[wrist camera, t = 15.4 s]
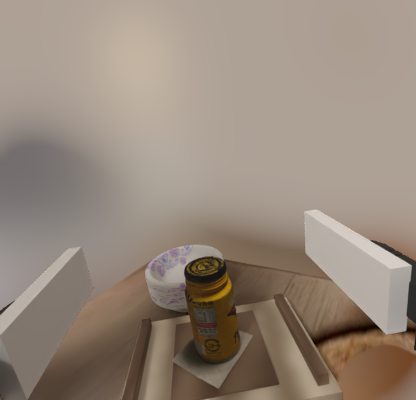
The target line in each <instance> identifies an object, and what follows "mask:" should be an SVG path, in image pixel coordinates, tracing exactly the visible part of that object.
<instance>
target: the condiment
mask: <svg viewBox="0 0 416 400" xmlns="http://www.w3.org/2000/svg"><path fill="white" fill-rule="evenodd" d="M184 276H185V283H186V287H185V297H186V302H187V307H188V312H189V317H190V322H191V327H192V332H193V336H194V337H193V338H192V339H191V340H190V341H189V342H188V344H187V345H186V346H185V347H184V348H183V349H182V350H181V351H180V352H179V353H178V354H177V355H176V356H175V358H174V359H173V360H172V361H173V362H174V363H176V364H177V365H178V366H180V367H182V368H183V369H185V370H187V371H188V372H190V373H192V374H193V375H195V376H197V377H198V378H200V379H202V380H204V381H206V382H207V383H209V384H211V385H213V386H215V387H216V388H218V389H219V388H220V386H221V385H222V383H223V381H224V380H225V379H226V377H227V375H228V373H229V372H230V371H231V369H232V367H233V366H234V365H235V363H236V362H237V360H238V359H239V357H240V356H241V354H242V353H243V351H244V350H245V348H246V347H247V345H248V343H249V342H250V340H251V339H252V337H253V335H251V334H248V333H246V332H243V331H240V330H239V327H238V320H237V315H236V307H235V301H234V295H233V287H232V283H231V280H230V279H229V278H228V274H227V270H226V264H225V262H224V261H223V260H222V259H221V258H218V257H213V256H205V257H201V258H197V259H195V260H193V261H191V262H189V263H188V264H187V265H186V266H185V269H184ZM216 365H217V366H216Z"/></svg>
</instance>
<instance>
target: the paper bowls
mask: <svg viewBox="0 0 416 400" xmlns="http://www.w3.org/2000/svg"><path fill="white" fill-rule="evenodd" d="M205 256H213V257H218V258H221V259H222V260H223V261H224V258H223V255H222V254H221V252H220V251H219V250H217V249H216V248H213V247H211V246H206V245H187V246H182V247H178V248H174V249H171V250H169V251H166V252H164V253H162V254H160V255H159V256H157V257H156V258H155V259H153V260H152V261H151V262H150V263H149V265H148V266H147V268H146V271H145V277H146V281H147V285H148V288H149V293H150V296H151V299H152V300H153V302H154V303H155V304H157V305H158V306H160V307H162V308H165V309H171V310H174V311H177V312H188V307H187V302H186V297H185V287H186V283H185V276H184V269H185V266H186V265H187V264H188V263H189V262H191V261H193V260H195V259H197V258H201V257H205Z"/></svg>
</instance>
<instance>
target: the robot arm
mask: <svg viewBox="0 0 416 400" xmlns="http://www.w3.org/2000/svg"><path fill="white" fill-rule="evenodd" d="M304 218H305V246H306V254H307V255H308V256H309V257H310V258H311V259H312V260H313V261H314V262H315V263H316V264H317V265H318V266H319V267H320V268H321V269H322V270H323V271H324V272H325V273H326V274H327V275H328V276H329V277H330V278H331V279H332V280H333V281H334V282H335V283H336V284H337V285H338V286H339V287H340V288H341V289H342V290H343V291H344V292H345V293H346V294H347V295H348V296H349V297H350V298H351V299H352V300H353V301H354V302H355V303H356V304H357V305H358V306H359V307H360V308H361V309H362V310H363V311H364V312H365V313H366V314H367V315H368V316H369V317H370V318H371V319H372V320H373V321H374V322H375V323H376V324H377V325H378V326H379V327H380V328H381V329H382V330H383V331H384V332H385V333H386V334H392V333H397V332H403V331H406V326H407V317H408V318H409V319H411V320H412V321H413V322H414V323H415V324H416V261H414V260H412V259H410V258H409V257H407V256H405V255H402V253H400V252H398V251H395V250H394V249H393V248H391V247H389V246H387V245H386V244H383V243H379V242H377V241H373V240H372V241H369V240H367V239H366V238H364V237H363V236H361V235H359V234H357V233H356V232H354V231H352V230H350V229H349V228H347V227H346V226H344V225H342V224H340V223H339V222H337V221H335V220H334V219H332V218H330V217H329V216H327V215H325V214H323V213H322V212H320V211H318V210H311V211H305V212H304ZM93 289H94V287H93V284H92V280H91V277H90V273H89V270H88V267H87V263H86V260H85V257H84V253H83V250H82V247H76V248H70V249H67V250H66V251H65V252H64V253H63V254H62V255H61V256H60V257H59V258H58V259H57V260H56V261H55V262H54V263H53V264H52V265H51V266H50V267H49V268H48V269H47V270H46V271H45V272H44V273H43V274H42V275H41V276H40V277H39V278H38V279H37V280H36V281H35V282H34V283H33V284H32V285H31V286H30V287H29V288H28V289H27V290H26V291H25V292H24V293H23V294H21V295H20V297H18V298H17V299H16V300H15V301H13V302H12V303H10V304H9V305H7V306H6V307H4V308H3V309H2V310H1V311H0V395H1V397H2V399H3V400H28V398H29V396H30V395H31V393H32V391H33V390H34V388H35V386H36V385H37V383H38V381H39V380H40V378H41V376H42V375H43V373H44V371H45V369H46V368H47V366H48V364H49V363H50V361H51V359H52V358H53V356H54V354H55V353H56V351H57V349H58V348H59V346H60V344H61V343H62V341H63V339H64V338H65V336H66V334H67V332H68V331H69V329H70V327H71V326H72V324H73V322H74V321H75V319H76V317H77V316H78V314H79V312H80V311H81V309H82V307H83V306H84V304H85V302H86V300H87V299H88V297H89V295H90V294H91V292H92V290H93ZM414 350H416V336H415V346H414Z"/></svg>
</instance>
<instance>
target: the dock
mask: <svg viewBox="0 0 416 400" xmlns="http://www.w3.org/2000/svg"><path fill="white" fill-rule="evenodd" d="M274 298H275V299H272V300H267V301H261V302H256V303H251V304H245V305H240V306H235V307H236V315H237V320H238V327H239V330H240V331H243V332H246V333H248V334H251V335H253V337H252V339H251V340H250V342H249V343H248V345H247V347H246V348H245V350H244V351H243V353H242V354H241V356H240V357H239V359H238V360H237V362H236V363H235V365H234V366H233V367H232V369H231V371H230V372H229V373H228V375H227V377H226V379H225V380H224V381H223V383H222V385H221V386H220V388H219V389H218V388H216V387H215V386H213V385H211V384H209V383H207V382H206V381H204V380H202V379H200V378H198V377H197V376H195V375H193V374H192V373H190V372H188V371H187V370H185V369H183V368H182V367H180V366H178V365H177V364H176V363H174V362H173V361H172V360H173V359H174V358H175V356H176V355H177V354H178V353H179V352H180V351H181V350H182V349H183V348H184V347H185V346H186V345H187V344H188V342H189V341H190V340H191V339H192V338H193V337H194V336H193V332H192V327H191V322H190V317H189V315H187V316H181V317H176V318H171V319H165V320H160V321H155V322H151V320H150V318H149V319H143V320H142V323H141V324H140V326H139V330H138V334H137V338H136V342H135V345H134V349H133V353H132V357H131V361H130V364H129V368H128V372H127V376H126V380H125V383H124V387H123V391H122V395H121V399H120V400H343V391H342V390H341V388H340V386H339V384H338V383H337V381H336V379H335V378H334V376H333V375H332V373H331V371H330V370H329V368H328V366H327V365H326V363H325V361H324V360H323V358H322V356H321V355H320V353H319V351H318V350H317V348H316V346H315V345H314V343H313V341H312V340H311V338H310V336H309V335H308V333H307V332H306V330H305V328H304V327H303V325H302V323H301V322H300V320H299V318H298V317H297V315H296V313H295V312H294V310H293V308H292V307H291V305H290V303H289V302H288V300H287V298H286V297H283V295H282V294H277V295H274ZM216 366H217V365H216Z"/></svg>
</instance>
